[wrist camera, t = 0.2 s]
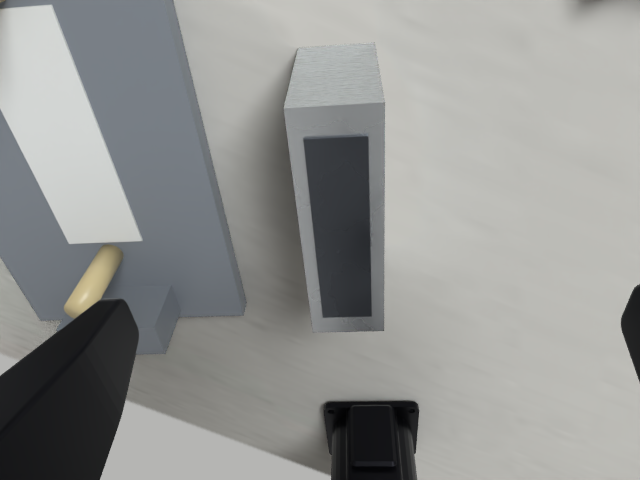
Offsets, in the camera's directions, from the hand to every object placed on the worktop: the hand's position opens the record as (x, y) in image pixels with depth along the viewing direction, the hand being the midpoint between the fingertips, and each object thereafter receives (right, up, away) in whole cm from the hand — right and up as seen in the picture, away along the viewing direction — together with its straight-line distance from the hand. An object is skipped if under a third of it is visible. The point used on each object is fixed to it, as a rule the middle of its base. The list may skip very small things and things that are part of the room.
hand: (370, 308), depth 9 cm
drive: (0, +5, +13) cm, 14 cm away
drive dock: (-12, +6, +13) cm, 19 cm away
